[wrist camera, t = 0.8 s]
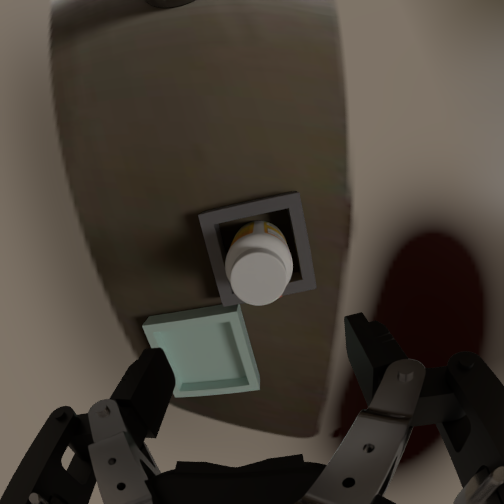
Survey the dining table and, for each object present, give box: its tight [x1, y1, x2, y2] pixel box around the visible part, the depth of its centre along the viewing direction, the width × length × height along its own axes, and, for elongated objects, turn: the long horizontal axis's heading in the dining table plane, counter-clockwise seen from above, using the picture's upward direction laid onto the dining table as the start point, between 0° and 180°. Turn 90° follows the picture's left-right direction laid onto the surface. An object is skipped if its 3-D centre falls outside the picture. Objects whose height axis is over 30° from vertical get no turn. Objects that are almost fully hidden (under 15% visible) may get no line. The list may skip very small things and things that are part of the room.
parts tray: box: [142, 304, 260, 397], centre depth 31 cm, size 11×11×2 cm
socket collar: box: [198, 191, 316, 307], centre depth 27 cm, size 9×9×3 cm
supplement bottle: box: [225, 221, 293, 306], centre depth 24 cm, size 5×5×10 cm
